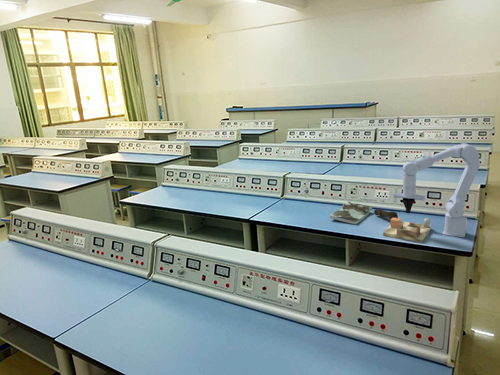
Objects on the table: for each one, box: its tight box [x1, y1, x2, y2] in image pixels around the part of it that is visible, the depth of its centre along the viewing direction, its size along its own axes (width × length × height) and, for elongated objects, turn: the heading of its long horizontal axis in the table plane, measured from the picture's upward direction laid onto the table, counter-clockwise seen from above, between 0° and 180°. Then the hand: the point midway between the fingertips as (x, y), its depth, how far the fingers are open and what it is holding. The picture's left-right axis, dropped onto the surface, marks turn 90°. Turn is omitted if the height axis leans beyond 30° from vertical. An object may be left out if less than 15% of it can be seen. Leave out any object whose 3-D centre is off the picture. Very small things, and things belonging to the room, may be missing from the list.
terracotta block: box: [389, 217, 402, 228], centre depth 190 cm, size 4×4×4 cm
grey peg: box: [423, 217, 431, 228], centre depth 187 cm, size 3×3×4 cm
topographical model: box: [329, 201, 373, 225], centre depth 216 cm, size 26×15×5 cm, turn 143°
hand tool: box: [373, 208, 399, 221], centre depth 205 cm, size 19×4×5 cm, turn 12°
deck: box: [382, 220, 432, 243], centre depth 186 cm, size 18×20×5 cm
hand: (408, 212), depth 185 cm, fingers closed
